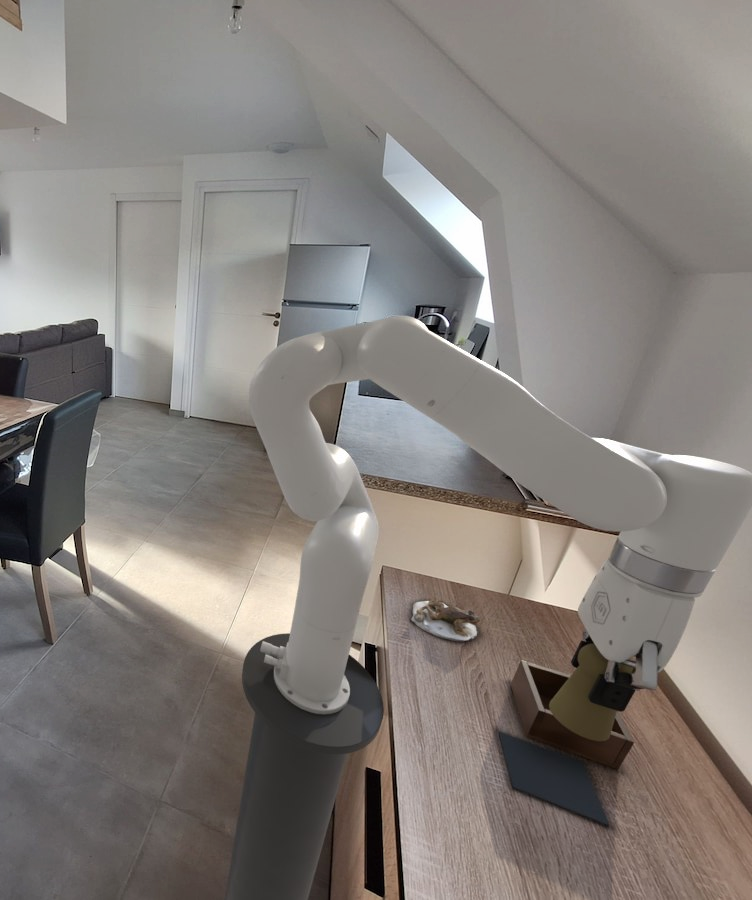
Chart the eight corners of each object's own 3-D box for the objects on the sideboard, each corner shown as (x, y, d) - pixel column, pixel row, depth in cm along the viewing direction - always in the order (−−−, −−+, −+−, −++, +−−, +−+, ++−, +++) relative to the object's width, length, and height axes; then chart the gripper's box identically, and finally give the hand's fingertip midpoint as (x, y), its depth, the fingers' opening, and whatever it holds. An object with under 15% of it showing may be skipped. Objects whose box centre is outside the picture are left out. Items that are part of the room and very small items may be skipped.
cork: (621, 748, 55) (660, 681, 51) (560, 731, 57) (594, 664, 53) (595, 707, 61) (629, 643, 57) (541, 693, 62) (570, 630, 58)
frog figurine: (476, 615, 93) (482, 600, 92) (478, 652, 84) (484, 636, 82) (414, 594, 99) (418, 579, 97) (409, 626, 89) (414, 611, 88)
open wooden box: (526, 736, 68) (538, 710, 66) (510, 684, 77) (520, 659, 75) (618, 769, 64) (634, 742, 62) (590, 710, 73) (603, 685, 71)
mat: (512, 788, 61) (513, 786, 61) (498, 732, 69) (499, 731, 68) (608, 826, 57) (609, 825, 57) (582, 763, 65) (583, 761, 64)
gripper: (586, 523, 59) (538, 632, 66) (650, 599, 45) (581, 730, 51) (663, 538, 56) (605, 651, 63) (759, 625, 42) (671, 760, 48)
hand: (595, 685), depth 57 cm, fingers closed on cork, 5 cm apart
